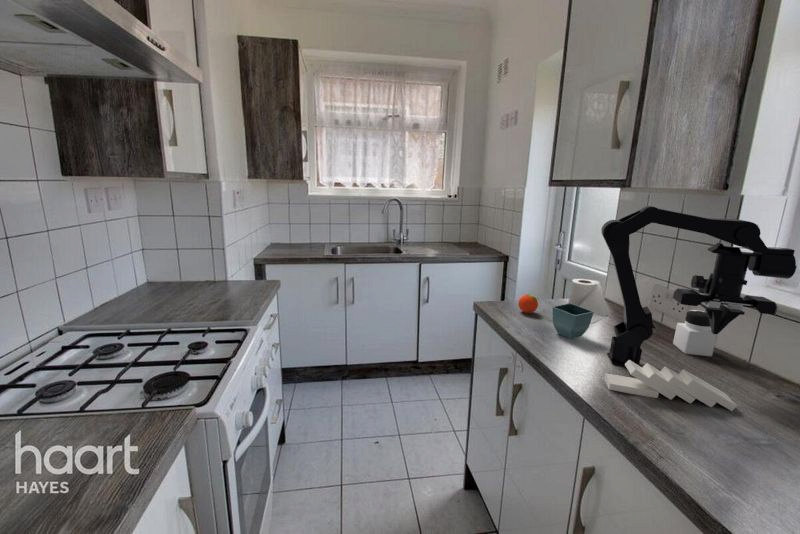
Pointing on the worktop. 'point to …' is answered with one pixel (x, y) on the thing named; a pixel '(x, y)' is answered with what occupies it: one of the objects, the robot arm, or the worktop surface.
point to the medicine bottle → (695, 334)
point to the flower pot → (571, 320)
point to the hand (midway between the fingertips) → (714, 333)
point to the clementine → (528, 303)
